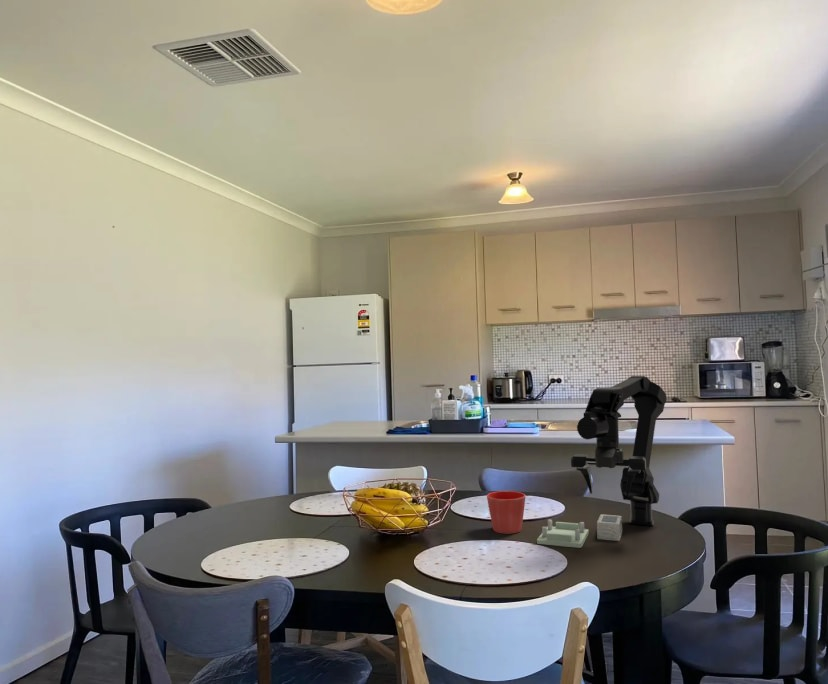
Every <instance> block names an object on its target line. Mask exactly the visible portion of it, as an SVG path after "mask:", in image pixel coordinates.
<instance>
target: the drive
mask: <svg viewBox="0 0 828 684" xmlns="http://www.w3.org/2000/svg"><path fill="white" fill-rule="evenodd" d="M596 532H597V535H596V536H597V537H596V538H597V540H603V541H604V540H605V541H617V542H620V541H621V538H622V535H623V515H614V514H613V515H612V514H604V513H603V514H601V513H600V515H599V517H598V520H597V521H596Z"/></svg>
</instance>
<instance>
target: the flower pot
mask: <svg viewBox="0 0 828 684" xmlns="http://www.w3.org/2000/svg"><path fill="white" fill-rule="evenodd" d="M486 500H487V504H488V505H487V506H488V510H489V515H490V521H491V525H492V529H493V531H494V532H495V533H499V534H508V535H510V534H516V533H518V532H519V533H520V532H521V531H522V528H523V521H524V515H525V514H524V513H525V506H526V505H525V504H526V494H525V493H523V492H520V491H512V490H507V491H505V490H502V491H499V490H498V491H494V492H489V493H488V494H487V495H486Z"/></svg>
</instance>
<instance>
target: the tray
mask: <svg viewBox="0 0 828 684" xmlns="http://www.w3.org/2000/svg"><path fill="white" fill-rule="evenodd" d="M589 531H590V529H587V528H585V522H584V521H580V522H579V523H577V522H564V521H555V526H553V519H547V526H544V525H543V526H541V534H540V535H539V536H538V538H537V539H536V544H539V545H547V546H556V547H557V546H558V547H567V548H568V547H569V548H577V549H579V548H580V549H581V548H582V547H583V545H584V543H585V541H586V540H587V537H588V535H589Z"/></svg>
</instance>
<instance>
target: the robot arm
mask: <svg viewBox="0 0 828 684" xmlns="http://www.w3.org/2000/svg"><path fill="white" fill-rule="evenodd" d="M629 398H631V399H632V400H633V401H634V408H635V410H636V413H637V415H638V417H637V423H636V424H637V425H636V430H635V437H634V442H633V443H634V444H633V450H632V455H630V456H629V458H624V450H623V448H620V440H619V439H620V438H619V437H620V436H619V433H620V432H619V418H621V417H622V414H621V413H620V412H619V410H620V409H621V408H622V407H623V406H624V404H625V403H624V401H625V400H627V399H629ZM667 399H668V398H667V393H666V392H665V391H664V389H663V388H662V387H661V385H659V384H657V383H655V382H654V381H651V380H650V378H649V377H648V376H645V375H632V376H629V377H628V378H626V379H624V380H623V381H621V382H619V383H617V384H615V385H612V386H609V387H608V386H607V387H597V388H594V389H593V391H592V392H591V394H590V397H589V399H588V402H587V404H586V407H585V410H584V412H583V417H582V418H580V419H579V420H578V422H577V425H576V430H577V433H578V435H579V436H580V437H581V438H582V439H585V440H592V439H596V447H595V451H594V457H590V455H589V454H586V453H585V454H584V453H575V454H574V455H573V456H572V457H571V459H570V461H571V462H570V466H571V467H572V468H576V471H580V473H581V474H582V476H583V478H584V480H585V483H586V485H587V488H588V490H589V494H590V495H591V494H593V480H592V473H591V465H592V466H593V465H595V467H596V468H599V469H600V468H608V469H614V468H616V466H618V467H624V468H623V469H622V475H621V479H620V484H619V486H620V492H621V496H622V499H623V500H624V501H629V502H630V503H629V506H630V517H629V519H628V524H629V525H640V526H651V527H652V526H654V524H655V523H654V522H655V519H654V518H653V508H652V507H653V505H654V504H658V502H659V500H660V493H659V491H658V490H657V488H656V486H655V484H654V480H655V479H654V476H653V473H652V471H651V469H650V465H651V464H650V463H651V458H652V457H651V455H652V449H653V443H654V436H655V428H656V422H657V419H658V418H659V417H660V416H661V414H663V412H664V410H665V405H666V403H667ZM652 504H653V505H652Z"/></svg>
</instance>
